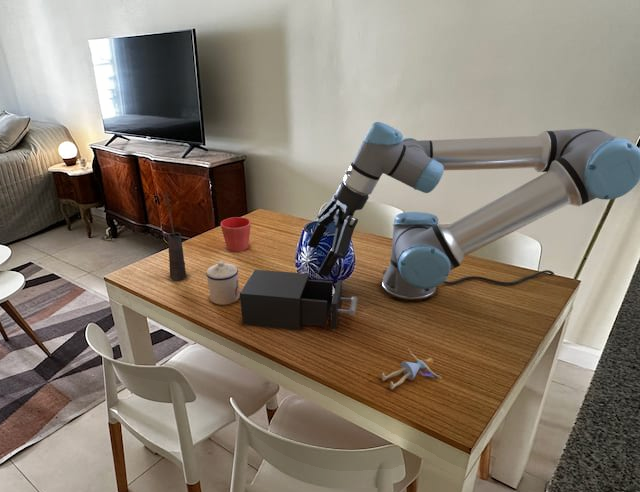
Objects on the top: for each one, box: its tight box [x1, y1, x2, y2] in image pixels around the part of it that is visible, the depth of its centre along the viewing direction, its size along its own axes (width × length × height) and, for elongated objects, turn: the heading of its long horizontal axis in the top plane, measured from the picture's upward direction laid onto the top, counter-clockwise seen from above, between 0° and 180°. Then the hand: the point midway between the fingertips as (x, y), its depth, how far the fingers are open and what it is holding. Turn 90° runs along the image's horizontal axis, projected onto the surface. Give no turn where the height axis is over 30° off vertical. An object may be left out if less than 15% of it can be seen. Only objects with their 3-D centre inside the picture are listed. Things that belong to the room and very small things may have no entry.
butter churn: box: [165, 190, 187, 281], centre depth 138 cm, size 9×10×28 cm
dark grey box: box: [239, 269, 310, 331], centre depth 122 cm, size 16×14×10 cm
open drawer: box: [300, 278, 358, 331], centre depth 119 cm, size 19×12×8 cm, turn 76°
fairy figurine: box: [381, 347, 443, 390], centre depth 99 cm, size 12×5×12 cm
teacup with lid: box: [205, 260, 240, 306], centre depth 131 cm, size 12×9×12 cm
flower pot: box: [220, 216, 252, 252], centre depth 162 cm, size 11×11×10 cm
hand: (316, 260), depth 118 cm, fingers open, 13 cm apart
